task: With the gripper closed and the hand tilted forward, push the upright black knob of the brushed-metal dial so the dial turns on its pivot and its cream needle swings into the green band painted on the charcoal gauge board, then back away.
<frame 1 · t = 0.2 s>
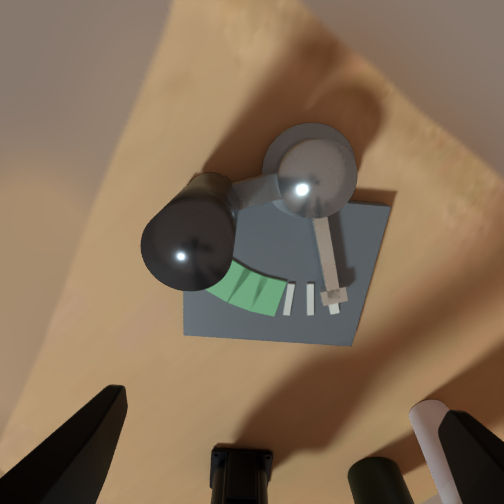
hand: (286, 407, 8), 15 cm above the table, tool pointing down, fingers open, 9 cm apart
dial: (282, 263, 16), point 6 cm above the table, hinge at 0.0°
smoothie: (426, 411, 30), on the table
gauge board: (306, 171, 20), on the table
wine bottle: (372, 471, 33), on the table
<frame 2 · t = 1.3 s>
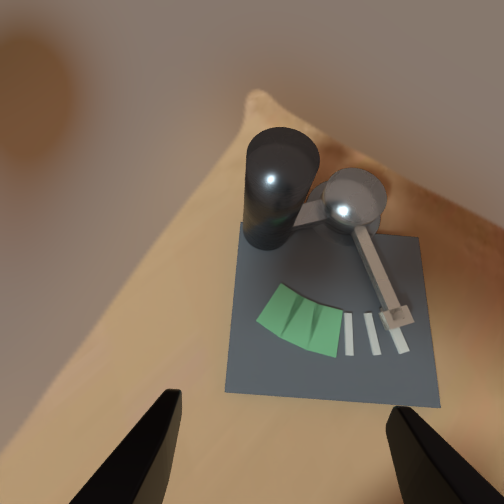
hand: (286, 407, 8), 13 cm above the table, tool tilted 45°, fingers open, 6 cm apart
dial: (345, 239, 18), point 6 cm above the table, hinge at 0.0°
gauge board: (339, 217, 24), on the table
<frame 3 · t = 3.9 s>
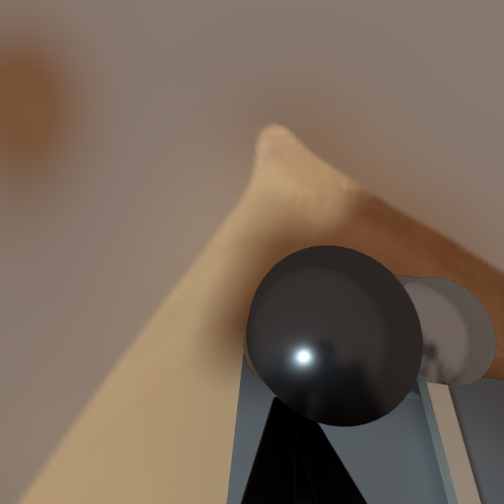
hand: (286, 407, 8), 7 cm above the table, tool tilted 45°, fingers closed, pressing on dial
dial: (423, 450, 9), point 6 cm above the table, hinge at 9.0°, touching gripper
gauge board: (397, 334, 16), on the table
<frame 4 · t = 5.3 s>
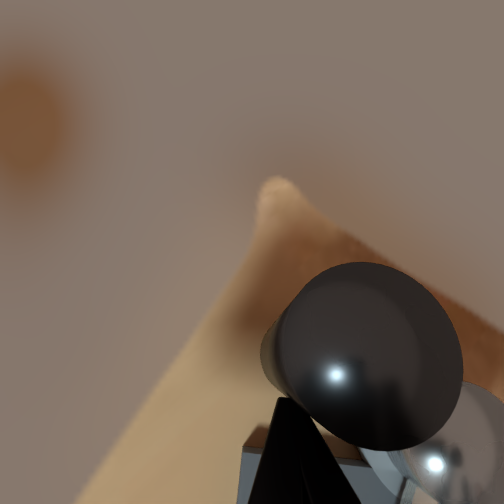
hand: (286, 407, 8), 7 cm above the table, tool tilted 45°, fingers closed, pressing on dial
gauge board: (413, 425, 14), on the table
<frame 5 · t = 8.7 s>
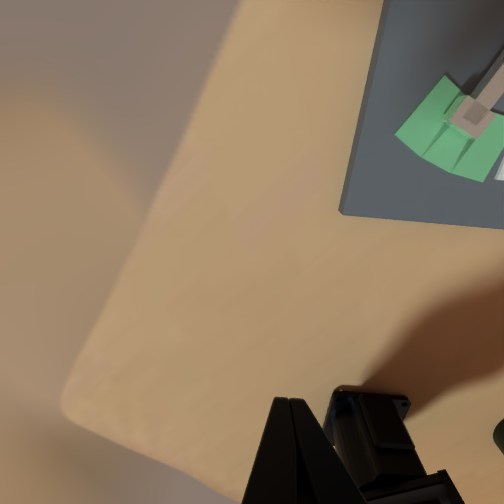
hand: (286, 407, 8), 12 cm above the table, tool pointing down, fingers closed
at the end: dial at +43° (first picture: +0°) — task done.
